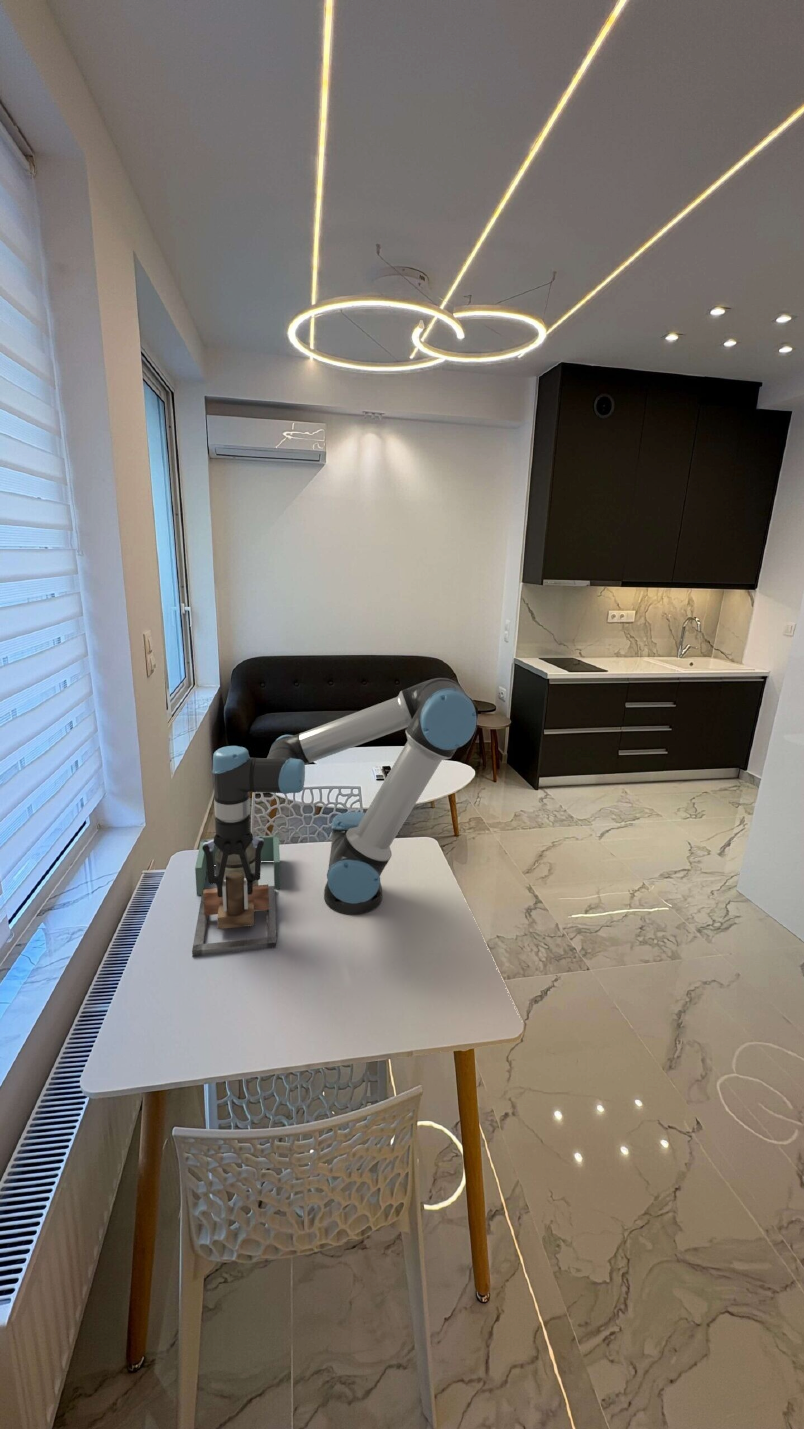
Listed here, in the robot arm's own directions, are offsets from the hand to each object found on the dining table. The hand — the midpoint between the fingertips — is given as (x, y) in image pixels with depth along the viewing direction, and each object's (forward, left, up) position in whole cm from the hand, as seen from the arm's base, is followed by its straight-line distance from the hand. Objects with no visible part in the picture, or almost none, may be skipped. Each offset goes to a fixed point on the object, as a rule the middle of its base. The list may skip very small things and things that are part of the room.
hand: (235, 906), depth 136 cm
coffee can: (0, -11, -6) cm, 12 cm away
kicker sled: (0, -2, -4) cm, 4 cm away
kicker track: (0, -3, -6) cm, 7 cm away
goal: (0, -23, -6) cm, 24 cm away
